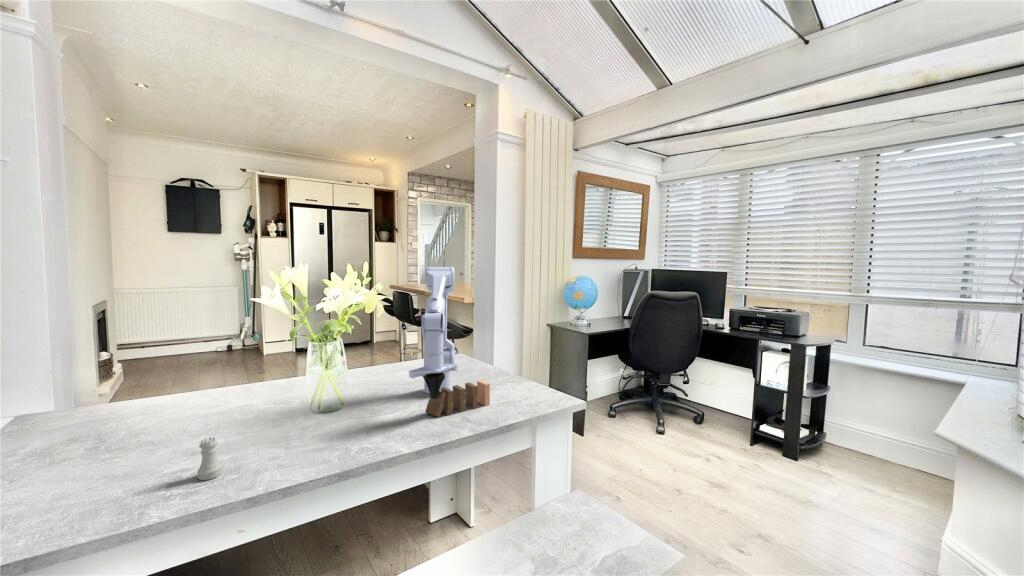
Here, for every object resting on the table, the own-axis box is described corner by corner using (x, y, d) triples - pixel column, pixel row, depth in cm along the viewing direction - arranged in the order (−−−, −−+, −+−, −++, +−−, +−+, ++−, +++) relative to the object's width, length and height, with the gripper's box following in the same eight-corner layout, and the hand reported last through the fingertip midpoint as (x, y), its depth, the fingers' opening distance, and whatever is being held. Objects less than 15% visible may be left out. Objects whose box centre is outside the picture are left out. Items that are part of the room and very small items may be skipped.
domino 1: (436, 416, 120) (443, 392, 122) (425, 412, 123) (432, 389, 125) (440, 416, 121) (447, 393, 123) (428, 413, 124) (435, 390, 126)
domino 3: (460, 412, 125) (460, 390, 124) (452, 407, 129) (452, 385, 128) (465, 411, 126) (465, 389, 125) (457, 406, 130) (457, 384, 129)
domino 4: (473, 409, 127) (473, 387, 127) (465, 404, 131) (465, 383, 131) (477, 408, 128) (477, 386, 128) (469, 403, 132) (469, 382, 132)
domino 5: (485, 406, 130) (485, 384, 130) (477, 401, 134) (477, 380, 134) (489, 405, 131) (489, 383, 131) (481, 400, 135) (481, 380, 135)
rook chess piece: (205, 470, 90) (204, 435, 89) (227, 469, 90) (225, 434, 89) (191, 481, 85) (189, 444, 85) (214, 480, 86) (212, 444, 85)
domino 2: (447, 415, 122) (449, 392, 122) (439, 410, 126) (441, 387, 126) (452, 414, 123) (453, 391, 123) (444, 409, 127) (446, 387, 127)
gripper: (415, 359, 113) (416, 406, 114) (461, 352, 122) (461, 396, 123) (406, 354, 119) (406, 399, 120) (450, 347, 128) (450, 390, 129)
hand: (433, 397), depth 122 cm, fingers closed
